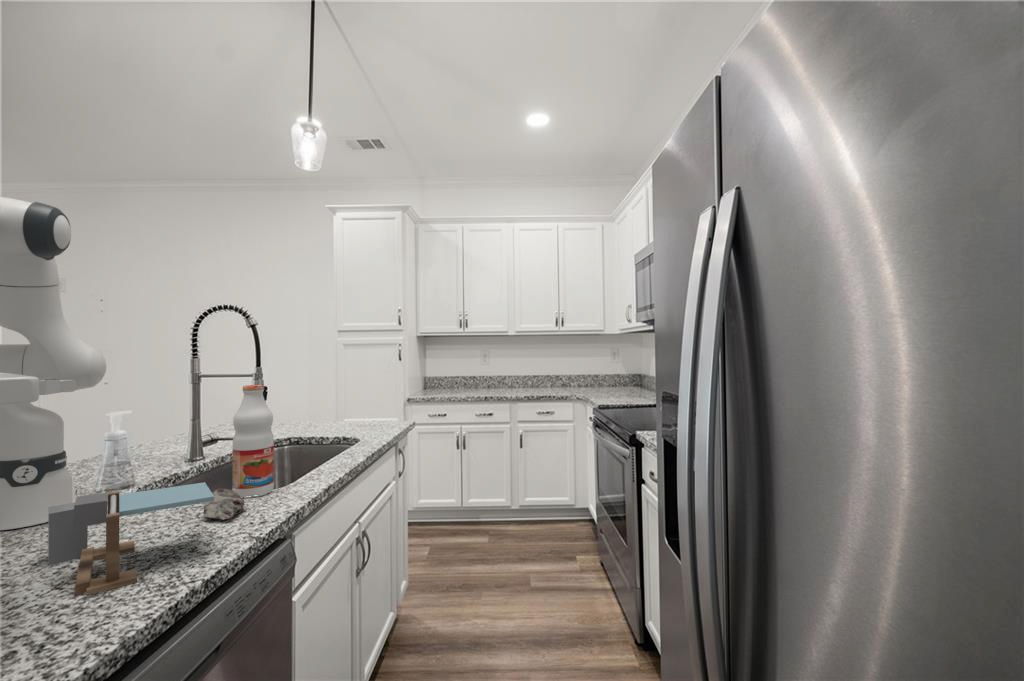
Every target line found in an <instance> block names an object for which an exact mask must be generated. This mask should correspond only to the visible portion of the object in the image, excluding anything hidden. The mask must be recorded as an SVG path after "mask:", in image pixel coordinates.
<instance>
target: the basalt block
mask: <svg viewBox="0 0 1024 681" xmlns="http://www.w3.org/2000/svg"><path fill="white" fill-rule="evenodd" d="M74 505H75V502H74V503H69V504H63V505H58V506H52V507H48V522H47V526H48V527H47V531H48V532H47V561H48V564H49V565H50V566H53V564H54V565H56V564H57V563H58V564H61V563H60V562H62V563H66V562H69V560H70V561H73V559H74V560H77V558H78V559H80V557H81V552H82V549H85V548H88V541H89V540H88V533H89V532H88V526H83V527H77V528H73V524H74ZM65 561H66V562H65ZM49 565H48V566H49Z"/></svg>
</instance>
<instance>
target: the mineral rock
mask: <svg viewBox="0 0 1024 681" xmlns="http://www.w3.org/2000/svg"><path fill="white" fill-rule="evenodd" d="M212 494H213V495H214V501H210V502H204V506H203V516H204V518H208V519H217V520H227V519H232V518H233V517H234V516H235V515H237V514H236V513H238V514H240V513H242V511H244V506H245V500H244V498H241V497H240V496H239V495H238V494H237V492H235V491H234V490H233V489H227V488H216V489H215V490H214V491H213V492H212Z"/></svg>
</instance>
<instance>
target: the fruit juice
mask: <svg viewBox="0 0 1024 681" xmlns="http://www.w3.org/2000/svg"><path fill="white" fill-rule="evenodd" d="M264 391H265V385H263V384H250V385H249V384H248V385H243V386H242V393H243V397H242V400H241V403H240V406H239V408H238V410H237V411H236V412H235V414H234V415H233V419H232V420H233V422H232V423H233V424H232V425H233V427H234V430H235V431H234V435H233V439H232V447H231V448H232V490H234V491H235V492H237V494H238V495H239V496H240V497H246V496H254V495H258V496H254V497H246V498H245V499H249V498H257V497H261V496H265V495H268V494H271V492H273V490H274V486H275V476H274V474H275V469H274V468H275V467H274V466H275V465H274V464H275V463H274V462H275V460H274V458H275V457H274V456H275V454H274V452H275V450H274V447H275V445H274V444H275V440H274V434H273V432H272V425H273V422H274V418H273V417H274V415H273V412H272V411H271V410H270V408H269V406H268V404H267V402H266V400H265V396H264ZM267 493H268V494H267ZM261 494H262V495H261Z"/></svg>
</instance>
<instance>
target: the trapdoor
mask: <svg viewBox="0 0 1024 681" xmlns="http://www.w3.org/2000/svg"><path fill="white" fill-rule="evenodd" d="M108 493H109V492H101V493H95V494H94V493H93V494H87V495H80V496H78V495H77V498H76V501H75V505H74V524H73V528H77V527H83V526H95V525H100V524H106V515H108ZM212 493H213V492H212V491H211V489H210V488H209V486H208V485H207V483H206V482H205V481H204V482H198V483H191V484H183V485H178V486H169V487H164V488H155V489H149V490H143V491H134V492H130V493H128V492H127V493H121V494H120V493H119V518H120V517H126V516H132V515H138V514H143V513H145V514H146V513H151V512H156V511H162V510H169V509H173V508H180V507H185V506H192V505H197V504H203V503H204V502H210V501H214V495H213V494H212ZM204 504H205V503H204ZM114 513H116V495H112V496H111V501H110V514H114Z"/></svg>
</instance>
